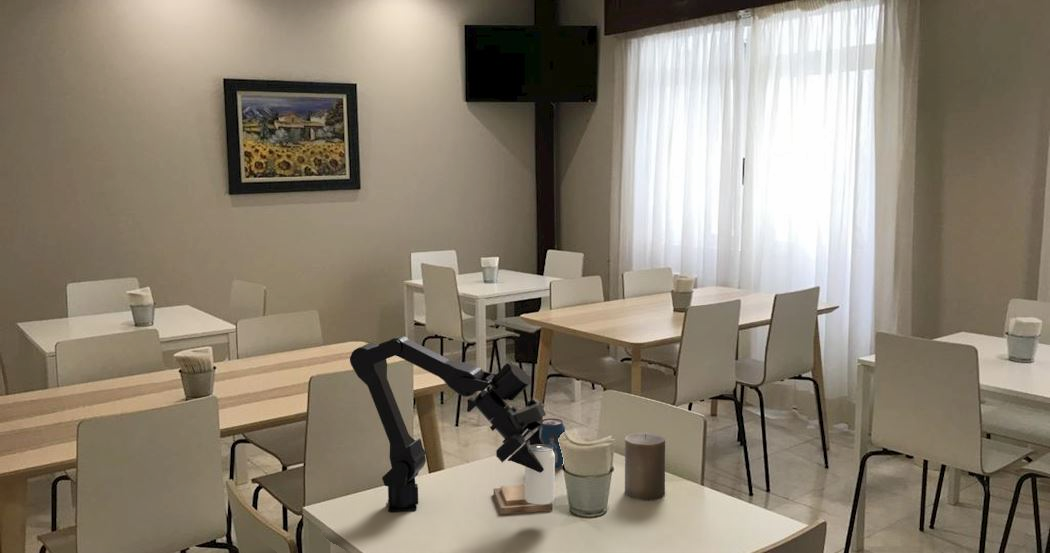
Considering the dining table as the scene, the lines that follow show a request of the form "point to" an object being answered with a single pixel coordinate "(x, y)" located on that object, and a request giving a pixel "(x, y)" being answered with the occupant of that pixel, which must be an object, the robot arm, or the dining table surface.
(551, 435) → the soda can
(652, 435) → the pillar candle
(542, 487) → the can
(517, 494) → the plinth
